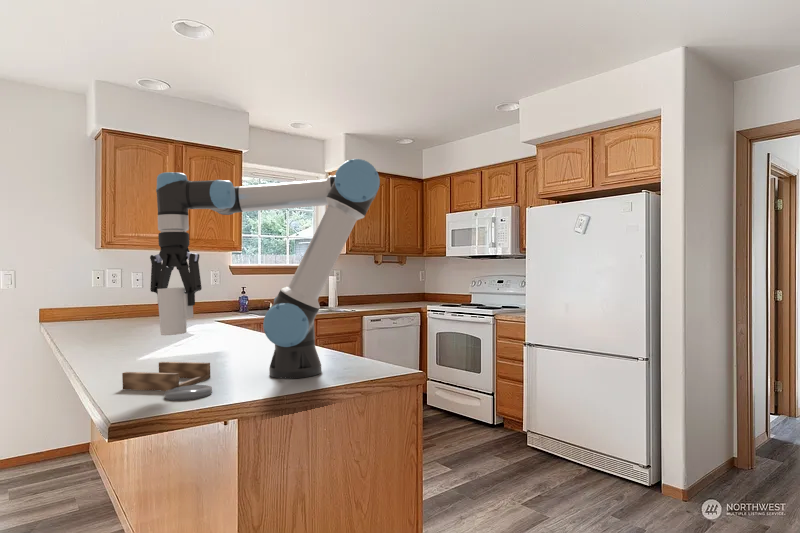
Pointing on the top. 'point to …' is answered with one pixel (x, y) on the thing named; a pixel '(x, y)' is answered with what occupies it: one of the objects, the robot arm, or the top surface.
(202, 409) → the top surface
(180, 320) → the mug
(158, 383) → the rack
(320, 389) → the top surface
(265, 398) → the top surface
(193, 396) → the disc
